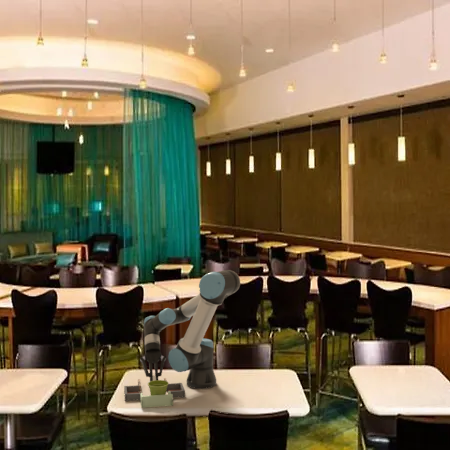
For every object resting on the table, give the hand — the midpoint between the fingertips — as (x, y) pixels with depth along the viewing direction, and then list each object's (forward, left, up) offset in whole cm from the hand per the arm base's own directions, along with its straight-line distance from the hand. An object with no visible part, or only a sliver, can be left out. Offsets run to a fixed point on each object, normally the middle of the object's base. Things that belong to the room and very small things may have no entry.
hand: (154, 389), depth 263 cm
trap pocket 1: (+11, 0, -4) cm, 12 cm away
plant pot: (-3, +4, -4) cm, 7 cm away
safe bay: (-2, +4, -4) cm, 7 cm away
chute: (+6, -14, -4) cm, 16 cm away
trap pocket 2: (-7, -9, -4) cm, 12 cm away
